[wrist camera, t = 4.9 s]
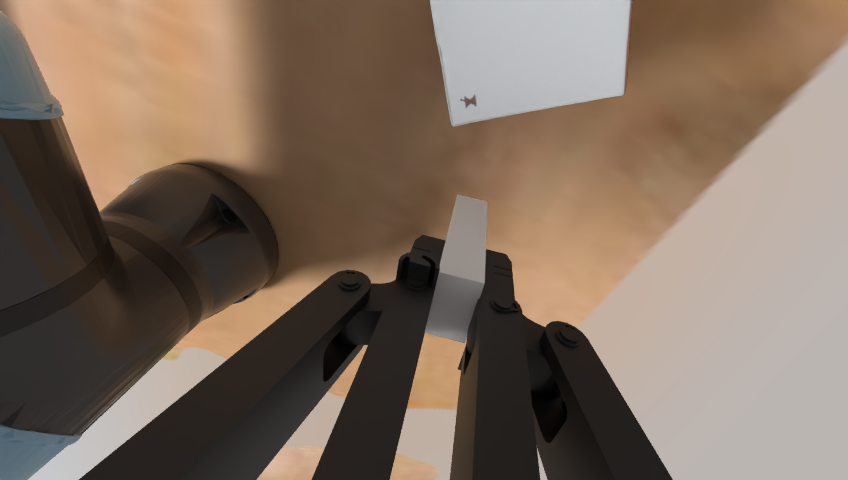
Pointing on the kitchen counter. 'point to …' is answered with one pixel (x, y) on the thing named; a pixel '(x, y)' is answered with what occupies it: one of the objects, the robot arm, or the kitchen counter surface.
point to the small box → (529, 54)
